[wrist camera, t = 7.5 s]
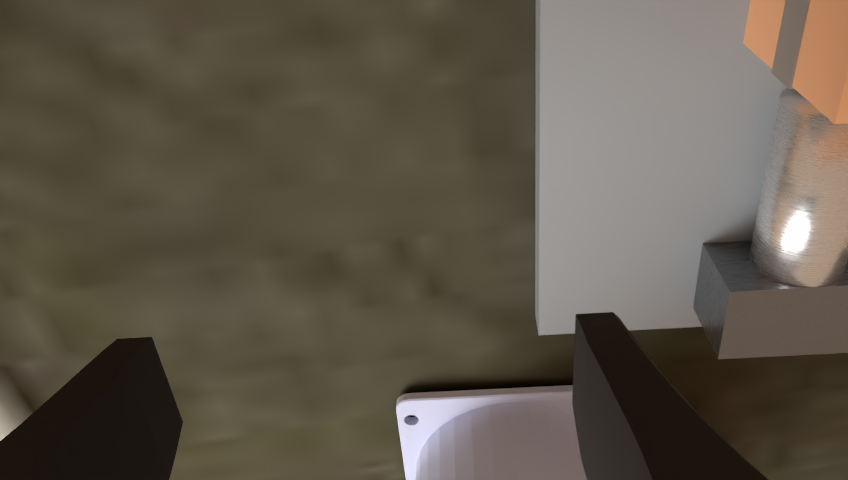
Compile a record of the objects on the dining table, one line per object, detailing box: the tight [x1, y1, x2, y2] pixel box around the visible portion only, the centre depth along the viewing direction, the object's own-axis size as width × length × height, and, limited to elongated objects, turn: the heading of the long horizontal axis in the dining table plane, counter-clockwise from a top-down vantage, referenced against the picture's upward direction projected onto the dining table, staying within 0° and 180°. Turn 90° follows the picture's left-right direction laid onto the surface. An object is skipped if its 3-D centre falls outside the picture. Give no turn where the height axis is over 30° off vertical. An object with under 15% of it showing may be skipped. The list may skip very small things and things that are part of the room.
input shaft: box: [693, 88, 848, 359], centre depth 20 cm, size 7×4×3 cm, turn 5°
